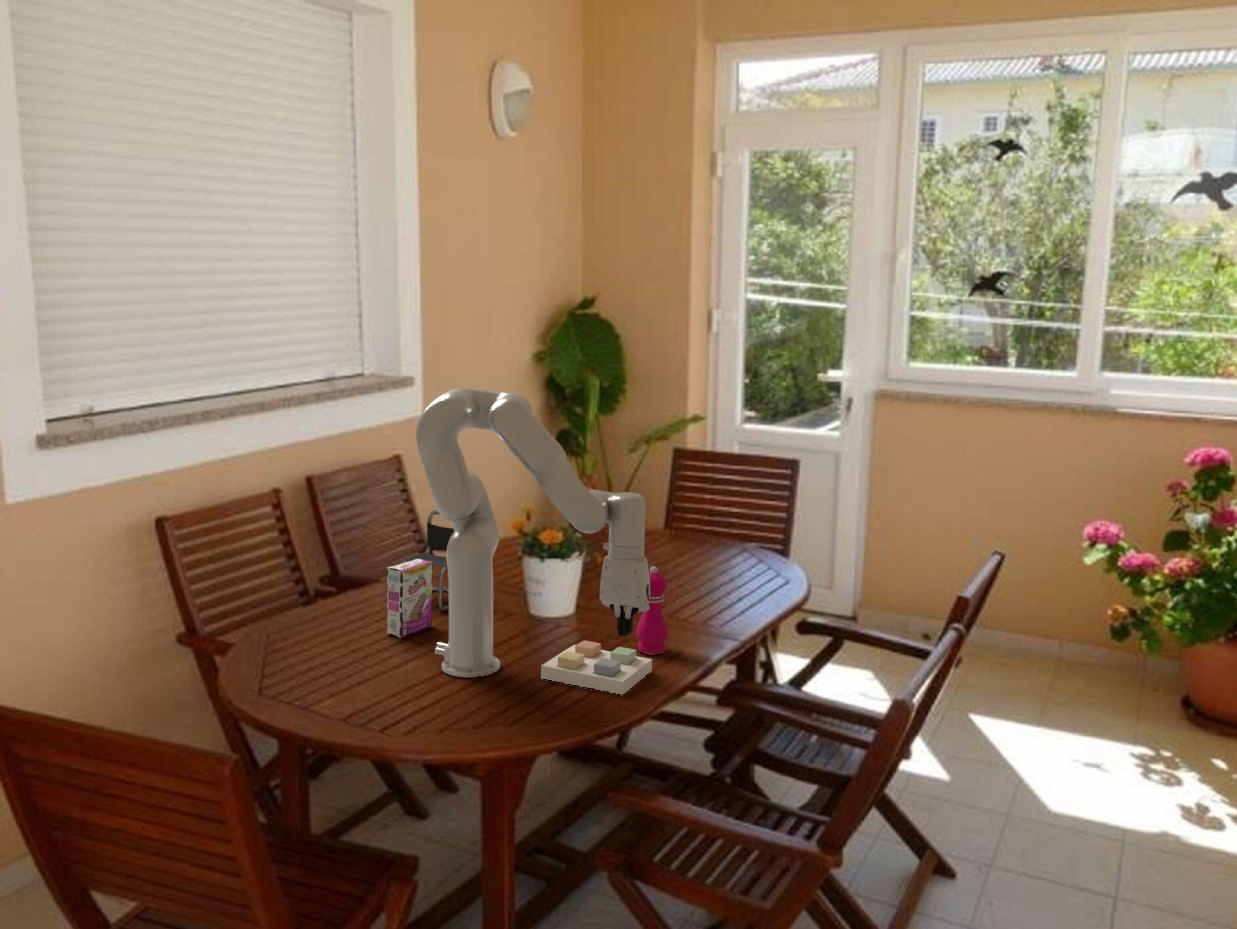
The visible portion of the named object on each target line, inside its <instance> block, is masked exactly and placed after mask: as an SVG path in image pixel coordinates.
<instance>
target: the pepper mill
mask: <svg viewBox="0 0 1237 929" xmlns="http://www.w3.org/2000/svg"><path fill="white" fill-rule="evenodd" d="M658 571H659V570H658V568H657V566H651V567H650V568H649V577H650V599H649V601H648V603H649V610H647V611H645V612H642V615H641V617H640V619H639V621H638V624H637V626H636V630H635V632H636V633H635V635H636V637H637V639H638V640H639V641H638V643H637V650H638V649H639V650H640V651H641V652H646V653H661V652H663V651H664V650H665V651H666V643H665V641H666V639H667V638H668V635H669V634H668V631H669V630H668V626H667V623H666V621H665V619H664V616H663V613H662V612H663V611H662V607H663V606H662V605H663V602H664V601H665V594H664V592H665V591H666V589H667V585H668V583H667V579H666V578H665V576H664V575H663V574H661V573H659V572H658Z"/></svg>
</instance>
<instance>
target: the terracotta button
mask: <svg viewBox="0 0 1237 929" xmlns="http://www.w3.org/2000/svg"><path fill="white" fill-rule="evenodd" d="M575 645H576V646H575V653H580V654H585V657H587V658H592V659H593V658H595V657H596V656H598V655H599V654H600V653H601V650H602V643H601V642H595V641H589V640H582V641H580V642H579V643H577V644H575Z"/></svg>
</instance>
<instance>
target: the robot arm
mask: <svg viewBox="0 0 1237 929" xmlns="http://www.w3.org/2000/svg"><path fill="white" fill-rule="evenodd" d="M467 428H471V429H480V430H481V429H482V430H490V431H493V433H494V434H495V436H496V437H498V439H499V440H500V441H501V442H502V443H503V444H504V445H505V447H507V449H508V450H509V451H510V452H511V453H513V455H514V456H515V457H516V458H517V459H518V460H519V462H520V463H521V464H522V465H523V466H524V467H525V469H526V470H527V471H529V474H531V475H532V477H533V478H534V480H535V482H536V484H537V485H538V486H539V487H540V489H542V491H543V492H544V493H545V495H546V497H547V498H548V499H549V500H550V501H551V503H552V504H553V506H554V507H555V508H556V509H557V511H559V513H560V514H562V516H563V517H564V518H565V519H566V520H567V521H568V523H569V524H571V525H572V526H573V527H574V528H575V529H577V530H578V531H579V532H581V533H584V534H594V533H595V534H596V533H598V532H599V531H600V530H602V529H603V528H604V527H605V525H606V524H608V541H607V542H604V543H603V546H602V547H603V548H602V549H603V550H606V551H607V555H605V556H604V560H603V563H602V569H601V575H600V584H599V599H600V601H601V605H603V606H605V607H607V608H610V609H611V610H612V612H613V613H614V616H615V618H616V630H617V631H618V634H617V636H619V637H621V636H622V637H628V636H629V635H630V634H632V632H633V626H634V624H633V623H634V616H635V615H636V614H637V613H643V612H645V611H647V610H649V603H648V601H649V599H650V577H649V573H650V568H649V563H648V558H647V557H645V535H646V533H645V530H646V529H645V528H646V526H645V525H646V499H645V497H644V496H643V495H642V494H640V493H638V492H637V493H636V492H631V491H628V492H610V491H606V490H600V489H599V490H598V489H589V488H587V486H586V485H585V484H584V483H583V482H582V481H581V479H580V478H579V477H578V476H577V474H576V473H575V470H574V469H573V468H572V465H571V463H570V462H569V460H568V456H567V454H566V451H565V450H564V448H563V447H562V445H561V444H560V442H558V441H557V440H556V439H555V437H554V436H553V435H552V434H551V433H550V432H549V431H548V430H547V428H545V426H544V425H543V424H542V423H541V421H539V419H537V417H536V416H535V415H534V414H533V409H532V406H531V404H530V402H529V401H528V400H527V399H526V398H525V397H524V396H523V395H521V394H517V393H513V392H503V391H493V390H485V389H484V390H483V389H475V388H465V387H458V388H453V389H451V390H448V391H446V392H445V393H443V394H441V395H439V396H438V397H436V398H435V399H434V400H433V401H432V402H431V403H430V404H429V405H428V406H427V407H426V408H425V409H424V411H423V412H422V413H421V415H420V417H419V419H418V422H417V426H416V432H415V437H416V438H415V439H416V446H417V450H418V452H419V456H420V459H421V462H422V465H423V468H424V473H425V476H426V479H427V482H428V485H429V488H430V491H431V494H432V498H433V502H434V505H435V507H436V510H438V512H439V514H438V515H440V516H441V517H442V518H443V519H445V520H447V521H449V522H451V524H452V528H453V529H454V533H453V534H452V536H451V537H450V539H449V542H448V545H447V550H446V554H445V555H446V556H445V557H446V559H447V570H446V571H447V583H448V587H447V588H448V592H447V593H448V604H449V609H448V643H447V642H442V641H438V642H436V646H435V649H434V654H435V655H442V656H443V658H444V659H443V660H442V661H441V665H440V666H441V670H442V672H443V673H445V674H448V675H449V676H452V677H457V678H479V677H478V676H481V677H485V675H486V676H489V675H492V674H495V673H496V672H498V671H499V670H500V668H501V661H500V659H499V658H498V657H496V656H494V573H493V558H494V557H493V555H494V553H495V552H496V549H497V548H498V544H499V542H500V533H499V532H500V531H499V528H498V524H497V520H496V518H495V515H494V511H493V508H492V506H491V502H490V499H489V495H488V493H487V490H486V487H485V485H484V483H483V481H482V479H481V478H480V477H479V476H478V474H476V473H474V472H472V471H470V470H468V468H467V465H466V464H467V463H466V461H465V457H464V454H463V451H462V449H461V447H460V445H459V442H458V436H459V434H460V433H461V432H462V431H464V430H465V429H467ZM494 672H495V673H494Z"/></svg>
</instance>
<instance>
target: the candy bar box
mask: <svg viewBox="0 0 1237 929" xmlns="http://www.w3.org/2000/svg"><path fill="white" fill-rule="evenodd" d="M401 563H402V562H401ZM401 563H398V564H396V565H392V566H389V567H388V566H387V567H386V635H389V636H392V637H395V638H399V639H402V638H404V637H407V636H408V637H409V635H414V634H415V633H418V632H419V631H423V630H426V629H428V628H431V627H432V626H433V592H432V588H433V569H434V568H433V567H434V566H433V562H431V561H427V560H422V559H415V560H412V561H408V562H405V563H402V564H401Z"/></svg>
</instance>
